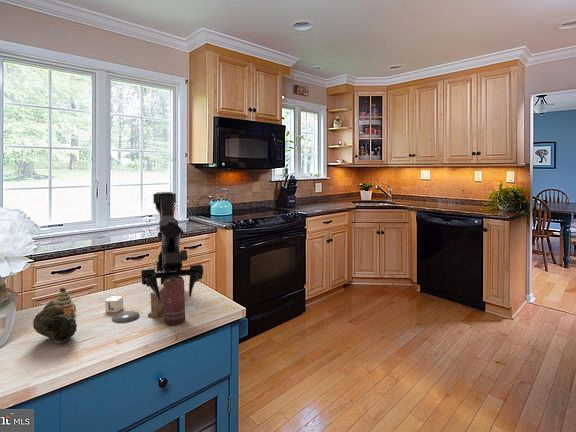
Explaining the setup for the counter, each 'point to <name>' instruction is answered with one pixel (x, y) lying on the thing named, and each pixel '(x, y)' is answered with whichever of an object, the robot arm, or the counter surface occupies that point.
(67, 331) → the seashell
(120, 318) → the coaster
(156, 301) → the screen
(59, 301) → the ornament
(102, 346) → the counter surface
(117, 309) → the letter block
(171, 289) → the can
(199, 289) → the counter surface
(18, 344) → the counter surface
